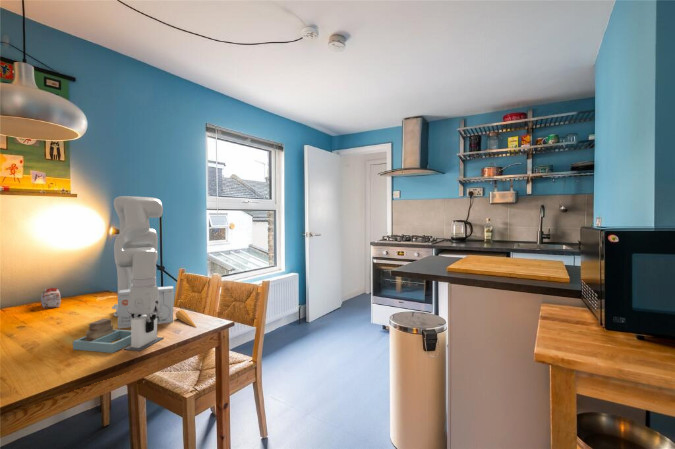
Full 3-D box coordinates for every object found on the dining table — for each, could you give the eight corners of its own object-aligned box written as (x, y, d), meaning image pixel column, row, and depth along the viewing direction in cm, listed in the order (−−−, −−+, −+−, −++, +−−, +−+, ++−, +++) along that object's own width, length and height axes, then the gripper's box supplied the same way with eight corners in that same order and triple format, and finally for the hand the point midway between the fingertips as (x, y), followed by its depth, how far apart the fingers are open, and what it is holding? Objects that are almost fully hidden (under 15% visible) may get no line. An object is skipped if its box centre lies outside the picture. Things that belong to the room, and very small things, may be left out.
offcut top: (89, 330, 116) (89, 323, 116) (102, 325, 122) (102, 318, 122) (97, 330, 116) (97, 324, 116) (111, 325, 122) (111, 319, 122)
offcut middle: (86, 339, 115) (86, 331, 115) (103, 332, 123) (103, 324, 123) (96, 339, 115) (96, 331, 115) (112, 332, 122) (112, 324, 122)
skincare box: (117, 329, 134) (117, 292, 133) (119, 325, 138) (119, 289, 138) (173, 322, 143) (173, 287, 143) (173, 319, 148) (173, 285, 148)
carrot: (176, 319, 149) (172, 312, 148) (185, 314, 152) (182, 306, 151) (193, 335, 136) (189, 326, 134) (203, 328, 139) (199, 320, 137)
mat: (123, 349, 113) (123, 348, 113) (149, 337, 125) (149, 336, 125) (139, 351, 112) (139, 350, 112) (163, 338, 124) (163, 337, 124)
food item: (62, 307, 166) (61, 288, 166) (41, 310, 160) (41, 291, 160) (59, 302, 175) (59, 285, 175) (40, 305, 170) (39, 287, 170)
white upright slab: (131, 347, 114) (131, 319, 114) (149, 338, 123) (149, 312, 123) (138, 347, 114) (138, 320, 114) (157, 338, 123) (157, 313, 122)
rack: (72, 349, 113) (72, 341, 113) (105, 336, 126) (105, 328, 126) (112, 352, 110) (112, 344, 110) (141, 339, 123) (141, 331, 123)
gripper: (116, 283, 116) (116, 333, 116) (157, 285, 113) (157, 336, 113) (133, 279, 123) (133, 326, 123) (171, 281, 120) (171, 329, 121)
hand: (144, 330), depth 118 cm, fingers open, 3 cm apart
